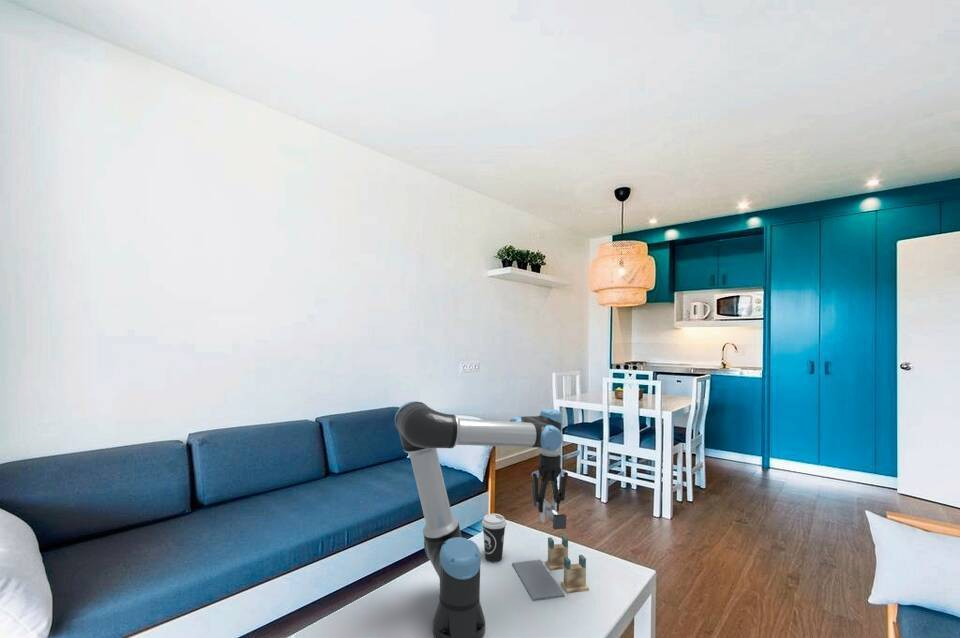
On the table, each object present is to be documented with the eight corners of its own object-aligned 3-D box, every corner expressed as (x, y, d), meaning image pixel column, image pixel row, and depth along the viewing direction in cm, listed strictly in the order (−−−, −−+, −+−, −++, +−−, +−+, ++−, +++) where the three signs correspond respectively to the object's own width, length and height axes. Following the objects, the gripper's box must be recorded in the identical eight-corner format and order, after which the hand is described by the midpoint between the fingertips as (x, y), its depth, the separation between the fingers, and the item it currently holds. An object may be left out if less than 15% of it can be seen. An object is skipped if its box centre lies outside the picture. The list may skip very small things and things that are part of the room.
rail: (566, 528, 140) (566, 515, 140) (554, 529, 139) (554, 516, 139) (543, 504, 160) (543, 493, 160) (532, 505, 159) (533, 493, 159)
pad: (532, 600, 136) (532, 598, 136) (512, 564, 157) (512, 562, 157) (564, 596, 138) (564, 594, 138) (539, 561, 160) (539, 559, 160)
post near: (566, 593, 140) (567, 563, 140) (560, 584, 145) (560, 555, 145) (588, 590, 142) (589, 560, 142) (582, 581, 147) (582, 552, 147)
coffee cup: (504, 565, 156) (504, 524, 157) (478, 562, 158) (479, 521, 159) (507, 553, 165) (508, 514, 166) (483, 550, 167) (484, 511, 168)
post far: (550, 570, 154) (550, 542, 154) (545, 563, 158) (545, 536, 159) (570, 567, 155) (570, 540, 156) (564, 560, 160) (565, 534, 161)
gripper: (531, 457, 145) (529, 527, 144) (576, 456, 149) (574, 524, 147) (524, 451, 152) (522, 517, 151) (567, 450, 156) (565, 515, 155)
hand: (548, 520), depth 149 cm, fingers closed on rail, 4 cm apart
